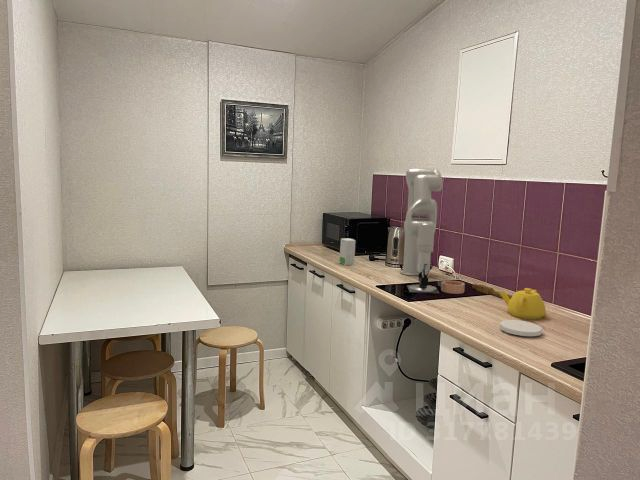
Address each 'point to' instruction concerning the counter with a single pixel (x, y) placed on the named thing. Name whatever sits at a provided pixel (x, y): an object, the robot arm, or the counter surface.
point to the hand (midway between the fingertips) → (423, 283)
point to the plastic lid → (520, 328)
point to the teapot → (525, 304)
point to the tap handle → (488, 290)
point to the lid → (422, 287)
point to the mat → (422, 292)
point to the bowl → (453, 287)
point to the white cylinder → (347, 251)
